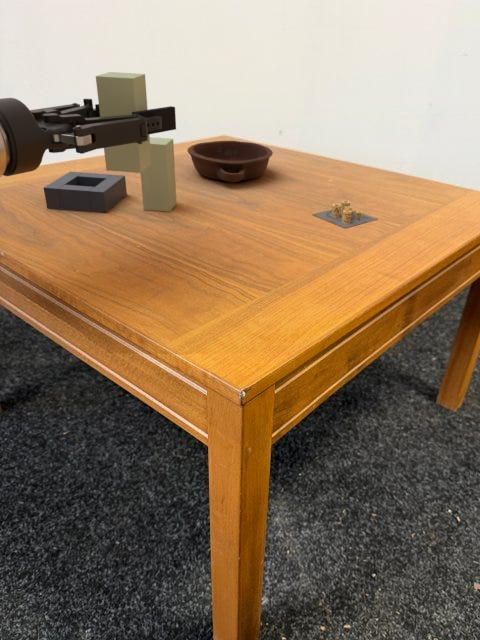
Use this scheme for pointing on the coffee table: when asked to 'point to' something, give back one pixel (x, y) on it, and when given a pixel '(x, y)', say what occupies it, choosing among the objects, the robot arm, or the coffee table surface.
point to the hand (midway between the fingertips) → (154, 114)
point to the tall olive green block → (122, 99)
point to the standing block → (159, 177)
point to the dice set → (344, 215)
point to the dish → (230, 159)
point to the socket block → (85, 192)
